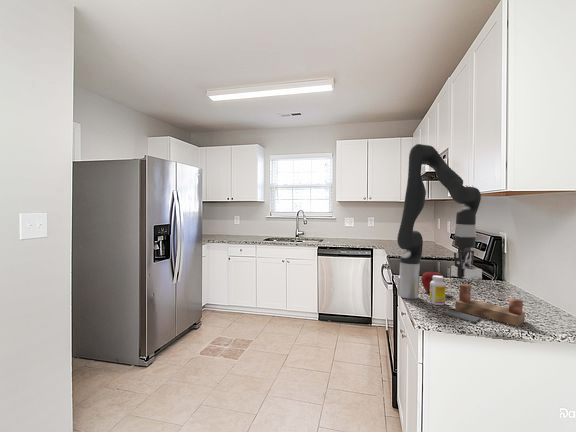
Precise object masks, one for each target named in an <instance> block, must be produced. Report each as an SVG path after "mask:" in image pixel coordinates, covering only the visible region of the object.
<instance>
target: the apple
mask: <svg viewBox="0 0 576 432" xmlns="http://www.w3.org/2000/svg"><path fill="white" fill-rule="evenodd" d="M434 275H437V276H442V277H444V275H443V274H442V273H440V272H437V271H436V272H435V271H426V272H424V273H423V274H422V275H421V277H420V279H421V284H422V287H423V289H424V290H425V291H426V292H427V293H428V294H430V282H431V281H433V278H432V277H433V276H434ZM444 281H445V279H443V282H444ZM444 283H445V282H444Z"/></svg>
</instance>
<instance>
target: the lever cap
mask: <svg viewBox="0 0 576 432" xmlns="http://www.w3.org/2000/svg"><path fill="white" fill-rule="evenodd" d="M457 271H458V268H457V267H455V264H454V265H451V266H450V276H451V277H456V278H459V277H458V276H457ZM482 275H483V269H482V268H478V267H473V266H471V267H467V266H464V277H463V278H462V279H468V280H472V281H473V280H474V281H481V280H483V279H482V277H483V276H482Z"/></svg>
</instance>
